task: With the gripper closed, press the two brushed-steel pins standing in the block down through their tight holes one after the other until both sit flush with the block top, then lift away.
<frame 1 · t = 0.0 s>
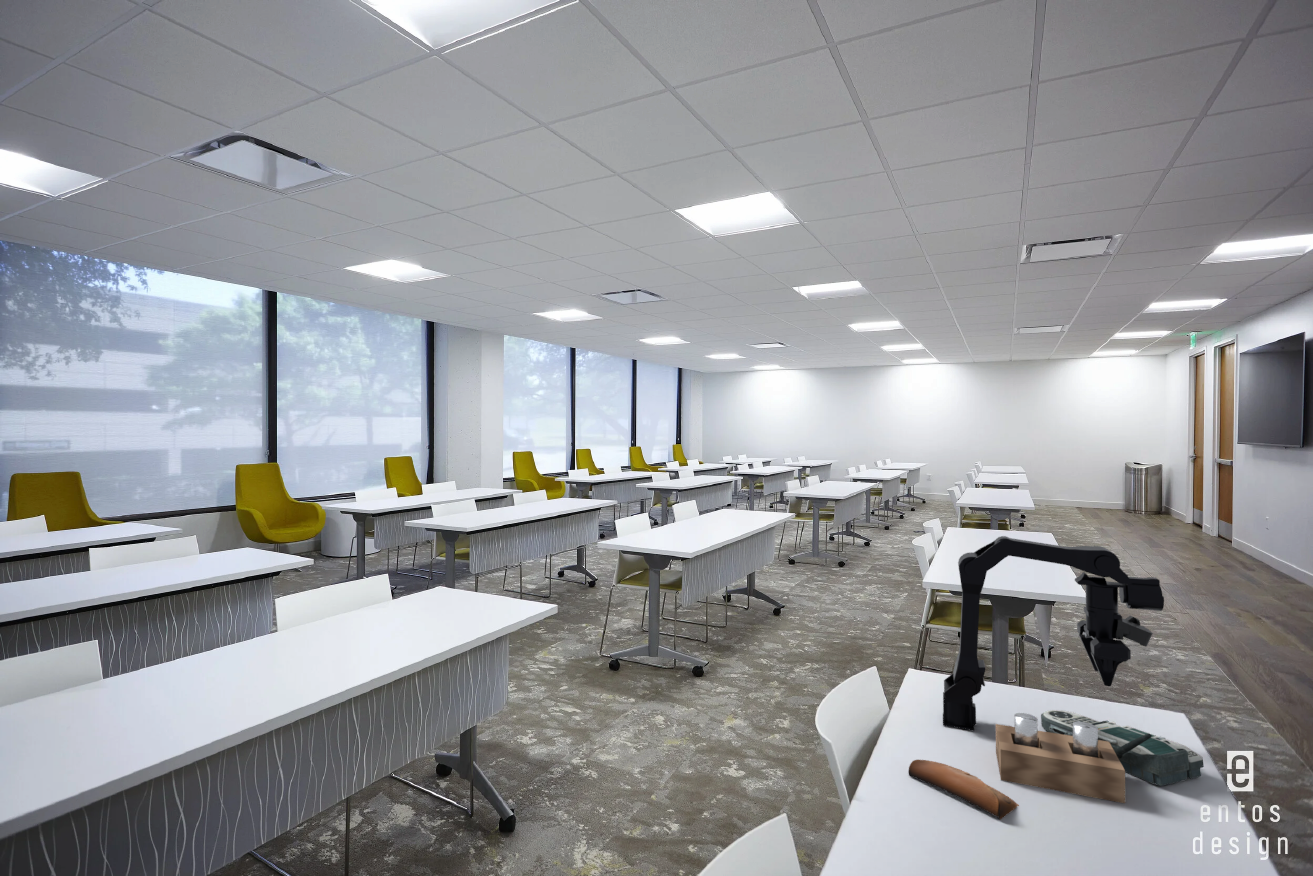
hand: (1102, 678, 137), 15 cm above the table, tool pointing down, fingers open, 9 cm apart
communication device: (1108, 753, 135), on the table
pin 1: (1026, 732, 127), point 8 cm above the table, slide at 4.5 cm
pin block: (1055, 776, 125), on the table
sunglasses case: (962, 794, 120), on the table
pin 2: (1085, 741, 123), point 8 cm above the table, slide at 4.5 cm
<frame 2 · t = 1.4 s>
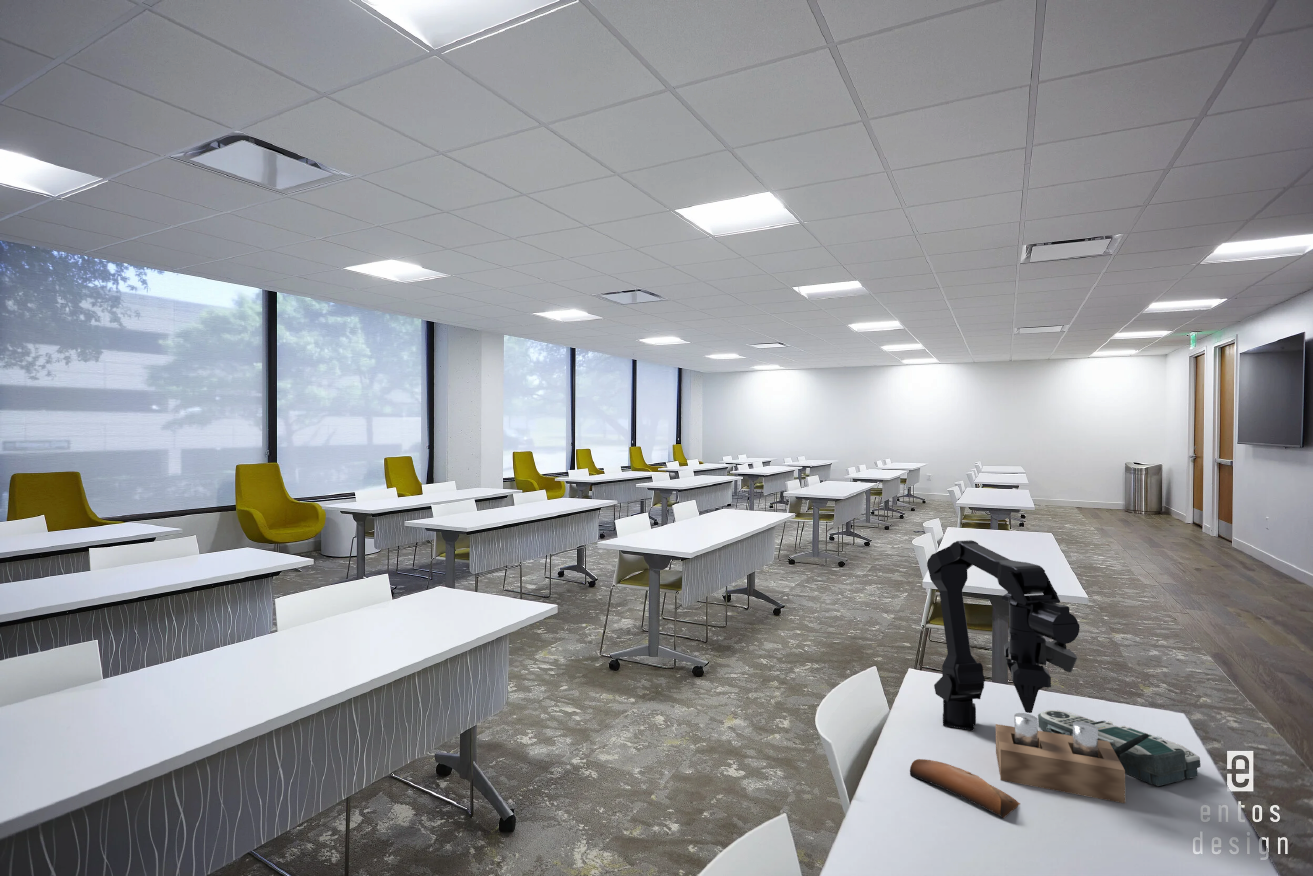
hand: (1026, 705, 127), 13 cm above the table, tool pointing down, fingers open, 7 cm apart
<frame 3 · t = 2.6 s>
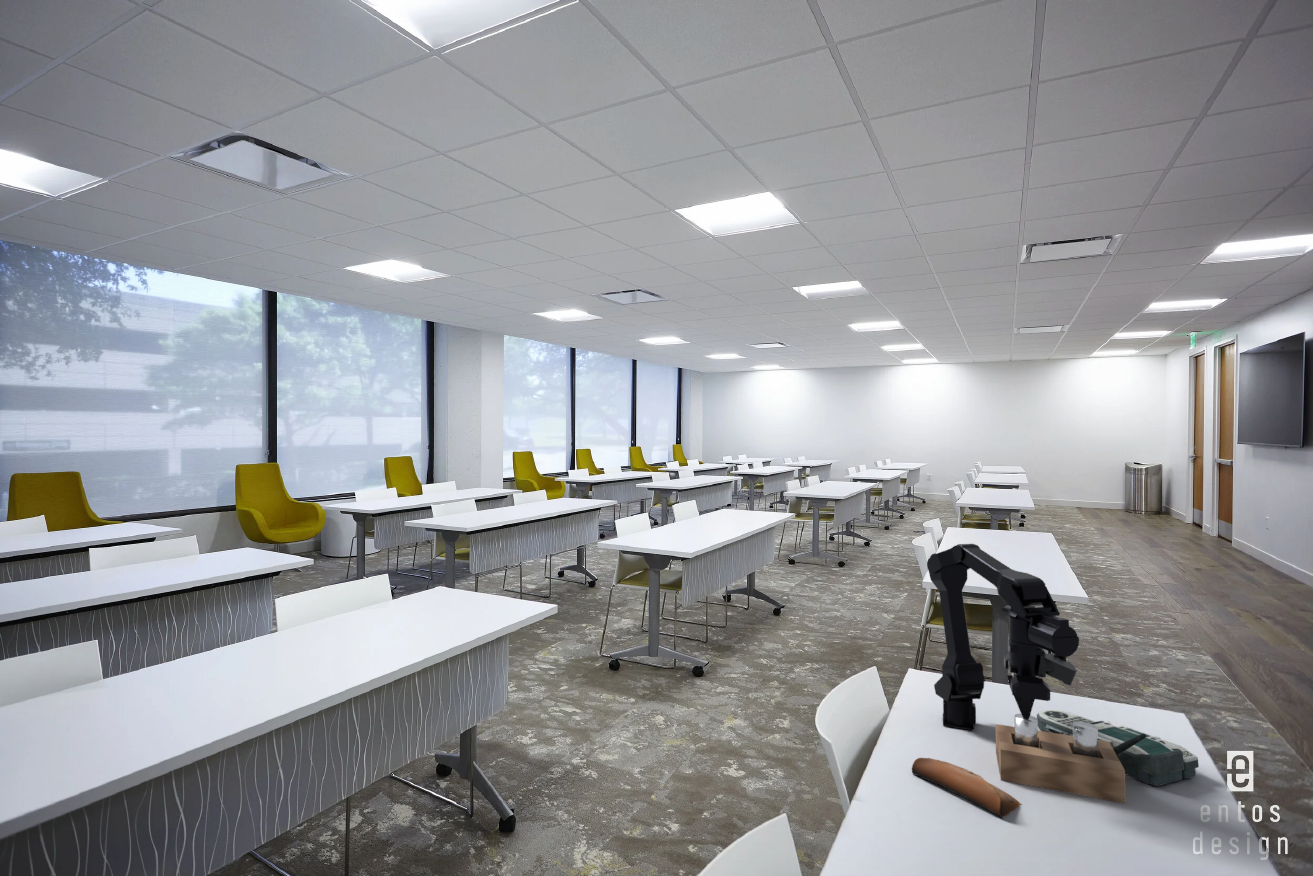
hand: (1025, 717, 127), 11 cm above the table, tool pointing down, fingers closed, pressing on pin 1
pin 1: (1026, 732, 127), point 8 cm above the table, slide at 4.4 cm, touching gripper
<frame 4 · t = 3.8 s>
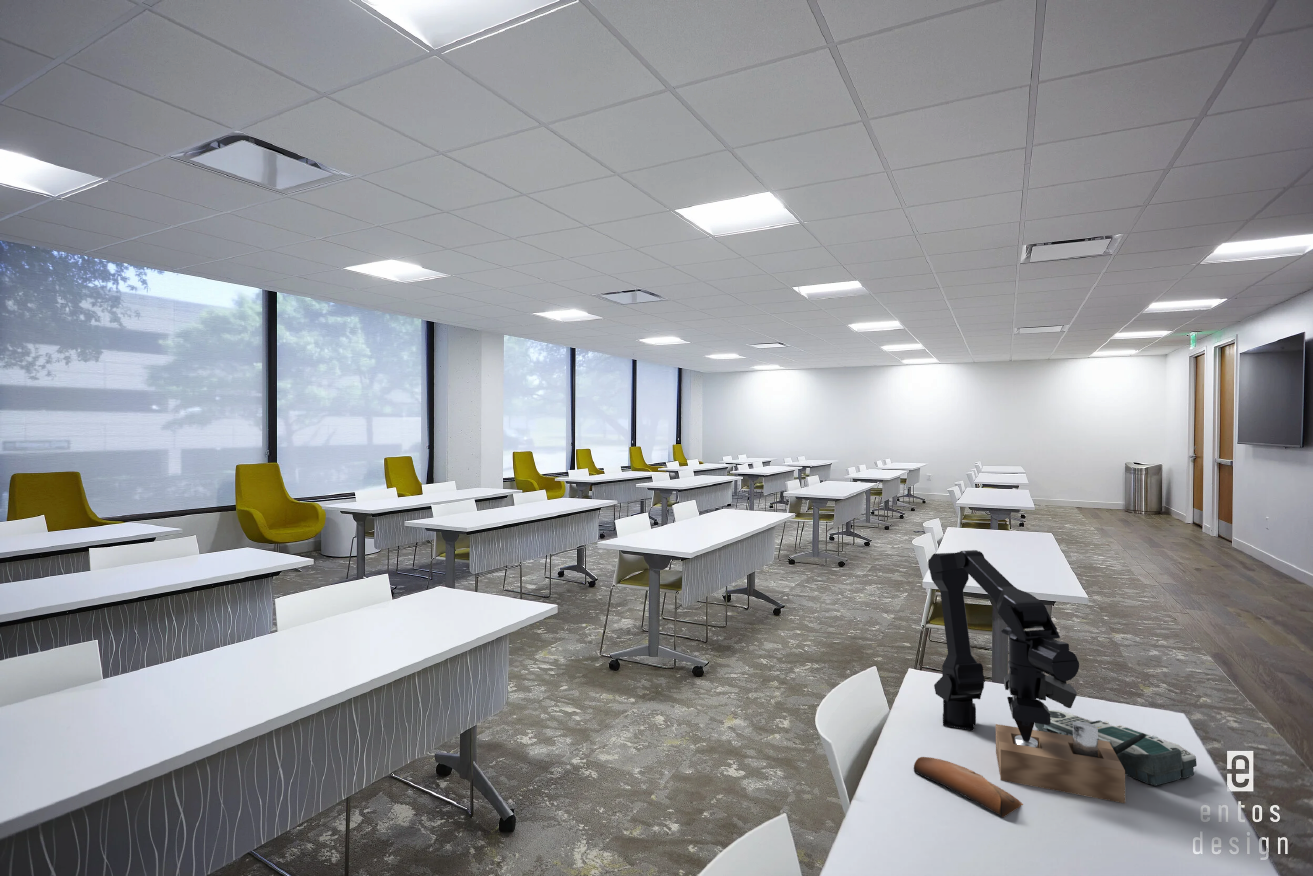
hand: (1026, 740, 127), 6 cm above the table, tool pointing down, fingers closed, pressing on pin 1
pin 1: (1026, 755, 127), point 3 cm above the table, slide at -0.1 cm, touching gripper
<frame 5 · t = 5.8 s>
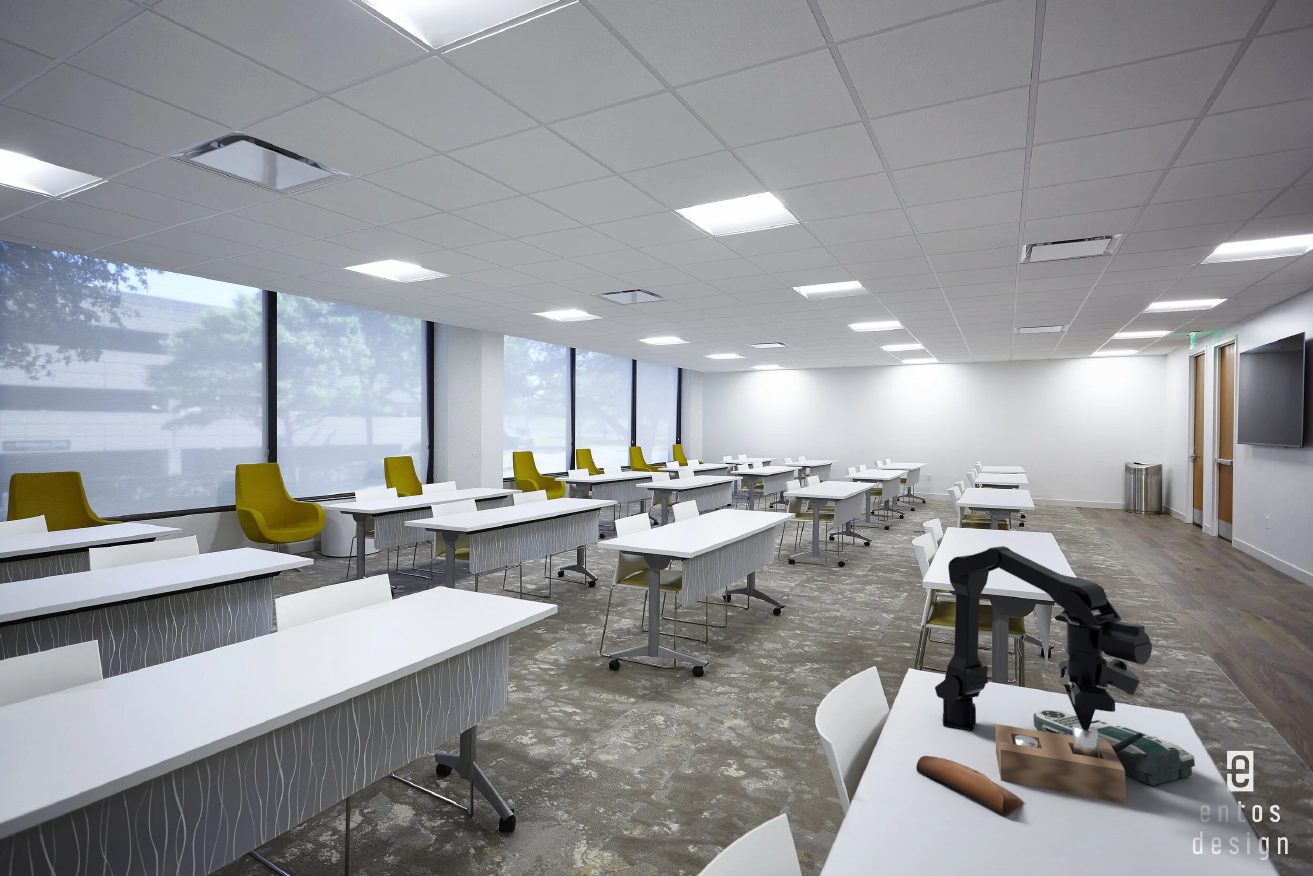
hand: (1085, 728, 123), 10 cm above the table, tool pointing down, fingers closed, pressing on pin 2
pin 1: (1026, 755, 127), point 3 cm above the table, slide at -0.1 cm
pin 2: (1085, 744, 123), point 7 cm above the table, slide at 4.0 cm, touching gripper
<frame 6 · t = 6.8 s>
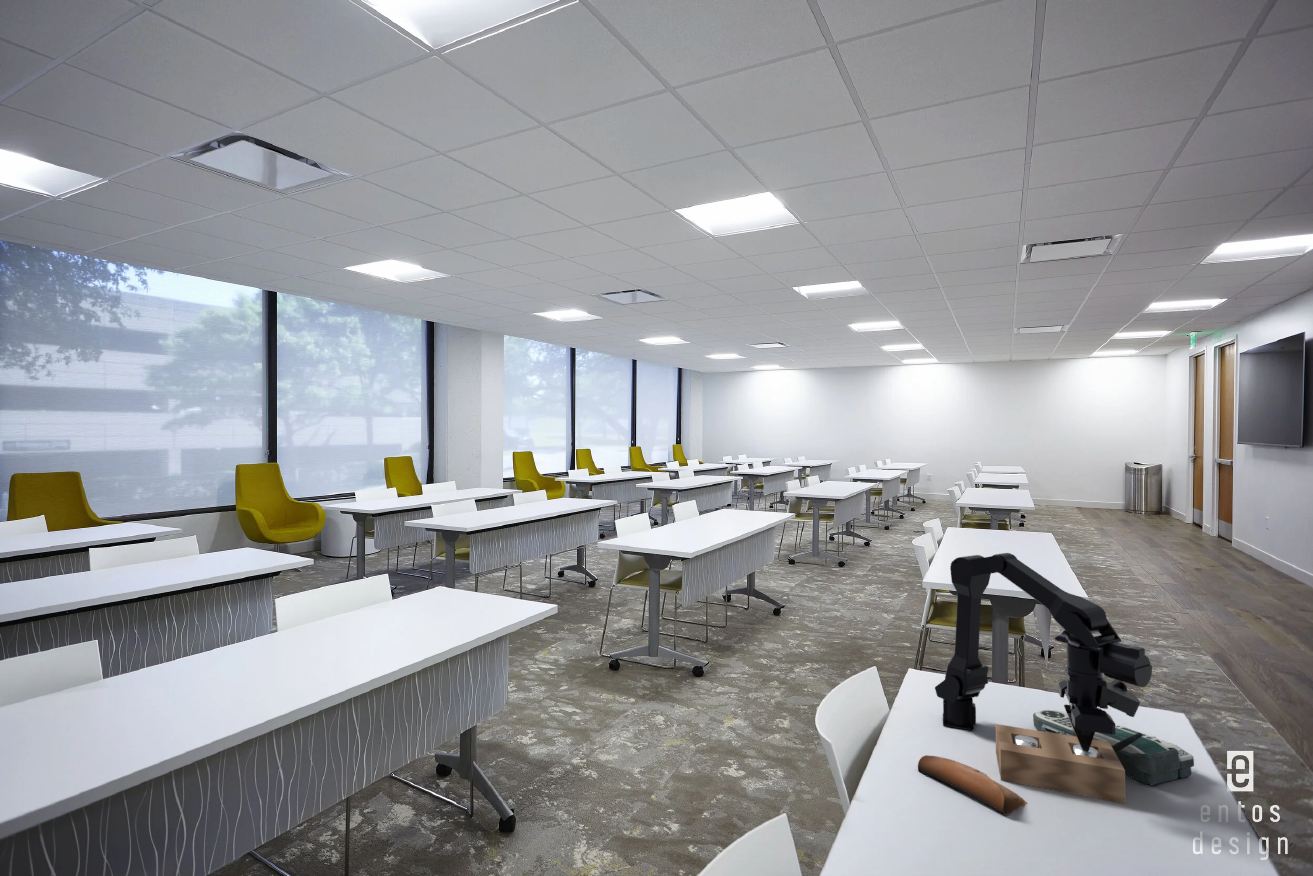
hand: (1085, 749, 123), 6 cm above the table, tool pointing down, fingers closed, pressing on pin 2
pin 2: (1085, 765, 123), point 3 cm above the table, slide at 0.0 cm, touching gripper
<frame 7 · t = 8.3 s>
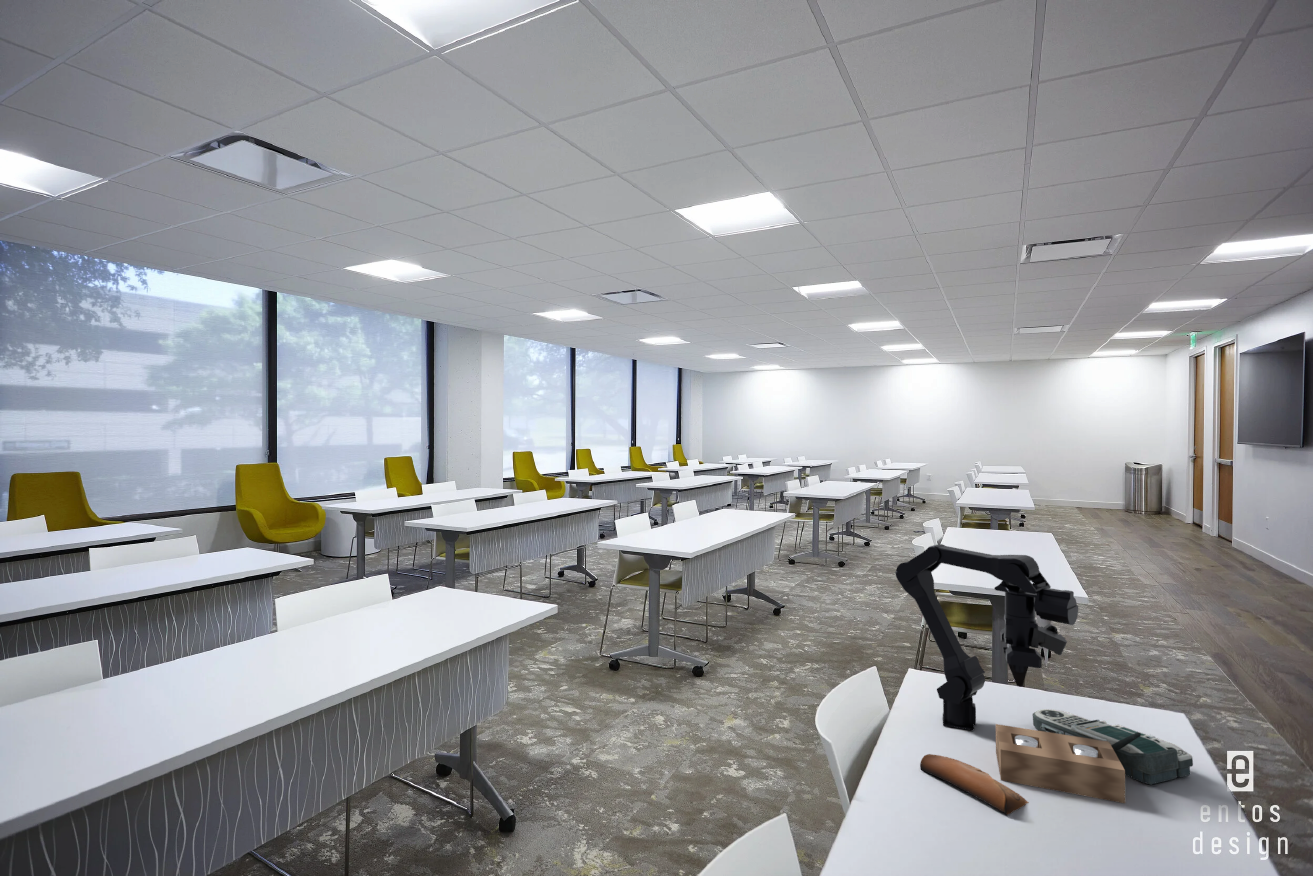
hand: (1019, 685, 138), 13 cm above the table, tool pointing down, fingers closed
pin 2: (1085, 765, 123), point 3 cm above the table, slide at 0.0 cm
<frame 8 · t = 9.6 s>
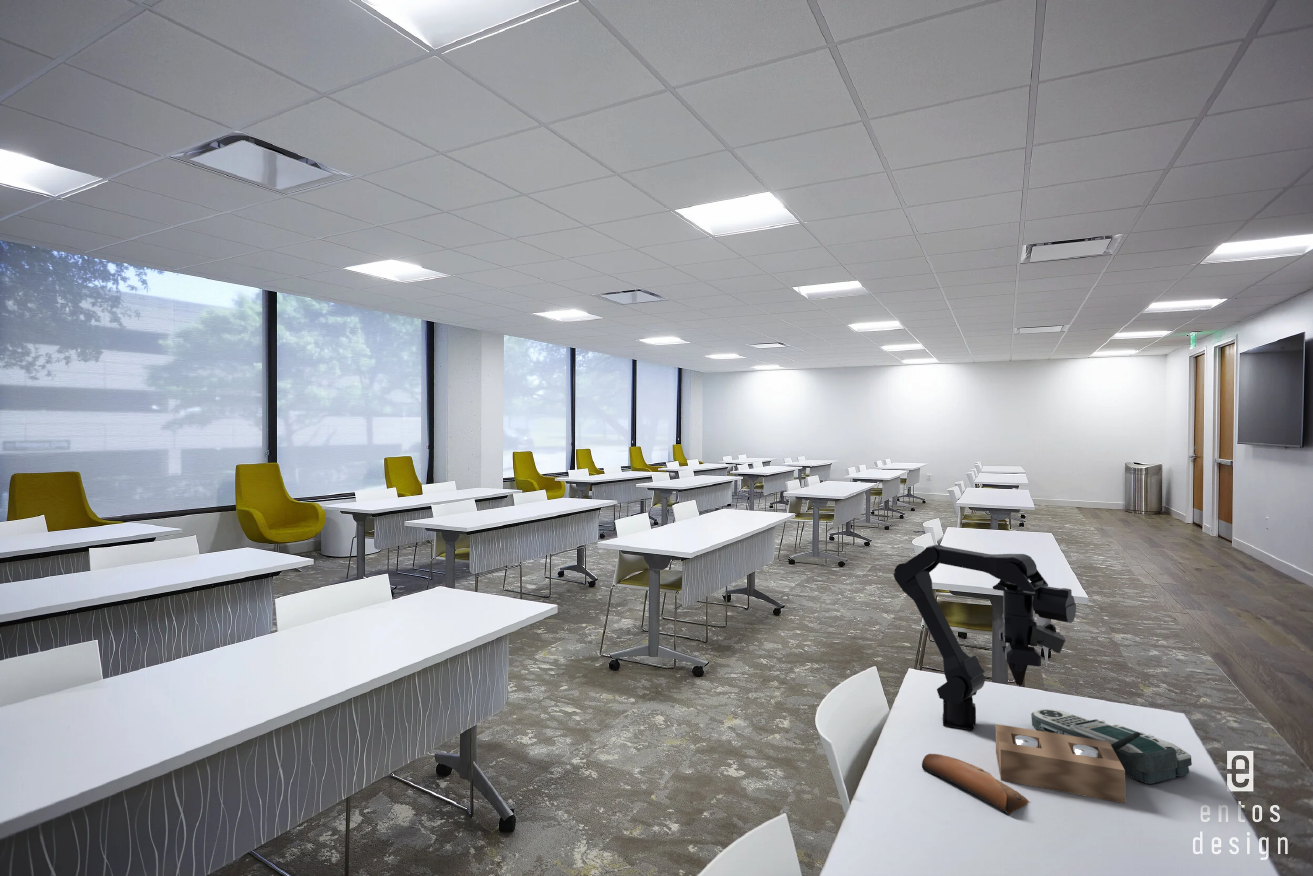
hand: (1019, 684, 138), 13 cm above the table, tool pointing down, fingers closed
at the end: pin 1 slide at -0.1 cm; pin 2 slide at 0.0 cm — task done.
